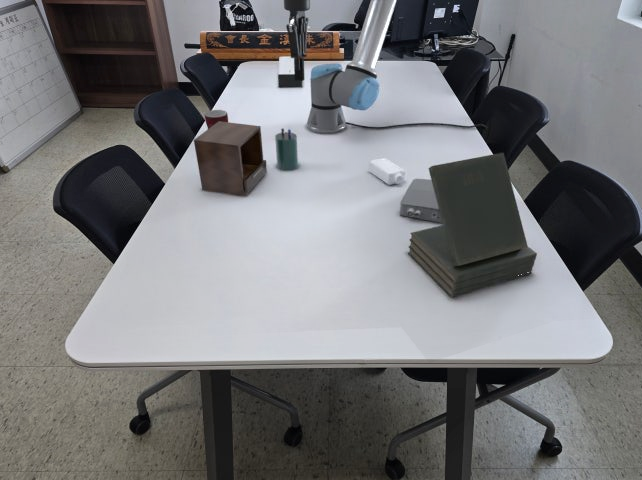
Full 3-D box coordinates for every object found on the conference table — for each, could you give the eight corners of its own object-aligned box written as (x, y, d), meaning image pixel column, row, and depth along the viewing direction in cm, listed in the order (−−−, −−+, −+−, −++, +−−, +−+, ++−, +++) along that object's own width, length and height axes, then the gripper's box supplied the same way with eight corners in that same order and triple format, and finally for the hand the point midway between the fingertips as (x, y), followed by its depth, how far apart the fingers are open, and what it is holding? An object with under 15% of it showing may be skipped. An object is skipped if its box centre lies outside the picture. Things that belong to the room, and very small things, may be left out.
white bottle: (390, 188, 155) (391, 175, 152) (368, 172, 163) (369, 160, 161) (407, 183, 157) (408, 171, 155) (384, 168, 166) (385, 156, 164)
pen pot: (297, 161, 170) (296, 124, 162) (298, 170, 164) (296, 132, 156) (277, 162, 169) (274, 124, 161) (276, 170, 164) (274, 132, 156)
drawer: (268, 172, 160) (267, 160, 158) (248, 193, 149) (247, 180, 146) (228, 166, 163) (227, 154, 161) (206, 187, 152) (204, 174, 149)
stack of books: (450, 298, 112) (469, 200, 97) (407, 253, 126) (418, 161, 111) (531, 275, 119) (560, 180, 104) (481, 234, 134) (501, 146, 118)
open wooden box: (264, 174, 162) (260, 126, 152) (244, 196, 149) (238, 145, 140) (225, 168, 164) (219, 121, 155) (202, 189, 152) (193, 139, 142)
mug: (223, 148, 178) (220, 120, 172) (202, 146, 179) (198, 119, 173) (233, 137, 186) (230, 110, 180) (213, 135, 187) (209, 109, 181)
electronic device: (474, 233, 134) (478, 217, 131) (397, 218, 140) (398, 202, 137) (483, 201, 148) (486, 186, 145) (413, 189, 154) (414, 174, 151)
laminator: (302, 87, 237) (301, 74, 233) (276, 88, 236) (275, 74, 232) (301, 68, 264) (300, 56, 260) (277, 68, 263) (277, 56, 259)
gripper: (292, -10, 147) (295, 73, 161) (275, -4, 137) (280, 84, 151) (316, -9, 145) (317, 75, 160) (301, -2, 135) (304, 86, 150)
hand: (299, 79), depth 156 cm, fingers closed
